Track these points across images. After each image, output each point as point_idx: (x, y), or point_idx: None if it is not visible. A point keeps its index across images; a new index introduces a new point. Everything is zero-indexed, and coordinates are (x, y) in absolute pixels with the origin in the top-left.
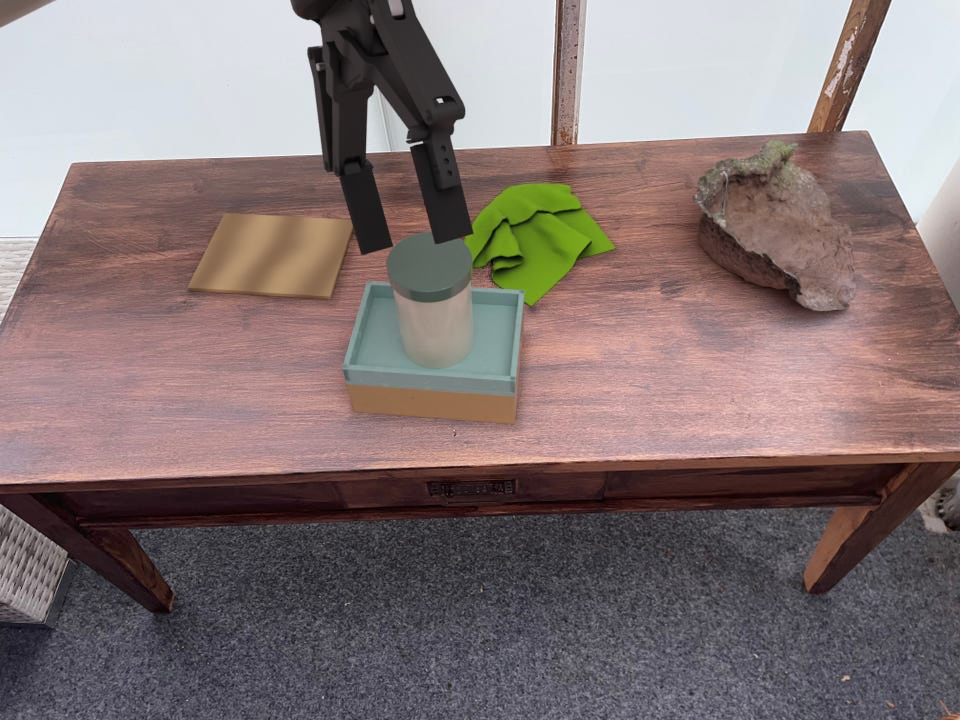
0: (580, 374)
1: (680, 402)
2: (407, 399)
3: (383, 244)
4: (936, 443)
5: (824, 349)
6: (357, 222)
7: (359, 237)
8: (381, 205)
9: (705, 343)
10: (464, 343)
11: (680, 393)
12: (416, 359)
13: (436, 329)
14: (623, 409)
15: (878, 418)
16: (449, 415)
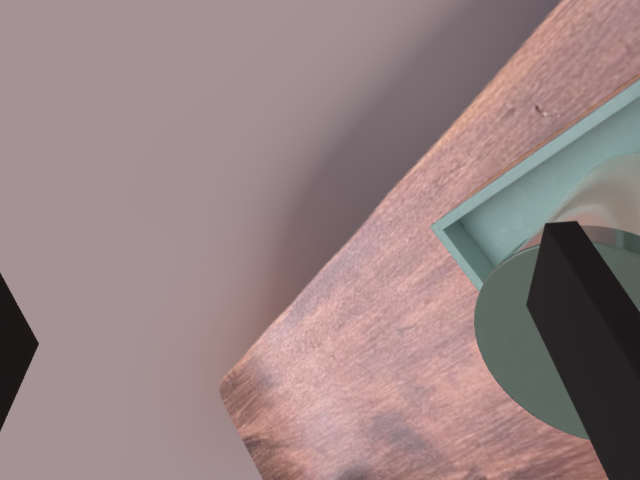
0: (472, 310)
1: (363, 329)
2: (621, 88)
3: (536, 292)
4: (221, 385)
5: (319, 450)
6: (590, 309)
7: (569, 263)
8: (582, 419)
9: (397, 418)
10: None
11: (371, 341)
12: (627, 158)
13: (545, 218)
14: (397, 289)
15: (253, 391)
16: (563, 127)
